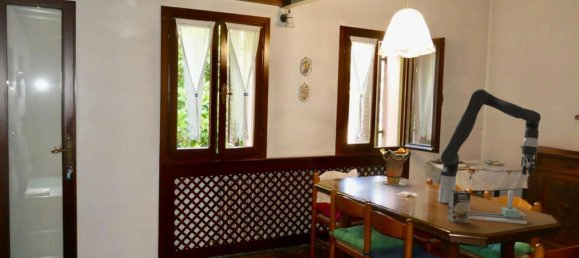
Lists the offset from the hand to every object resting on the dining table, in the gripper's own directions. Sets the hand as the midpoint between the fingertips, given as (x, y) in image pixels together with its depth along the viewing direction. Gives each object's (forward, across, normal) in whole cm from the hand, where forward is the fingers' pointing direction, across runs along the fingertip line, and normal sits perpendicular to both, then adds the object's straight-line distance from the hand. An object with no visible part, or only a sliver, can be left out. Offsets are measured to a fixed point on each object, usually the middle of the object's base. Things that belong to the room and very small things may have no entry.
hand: (527, 174), depth 253 cm
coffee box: (+33, +15, -38) cm, 52 cm away
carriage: (+25, +4, -8) cm, 26 cm away
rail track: (+28, +3, -16) cm, 32 cm away
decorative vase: (+15, -82, -64) cm, 105 cm away
